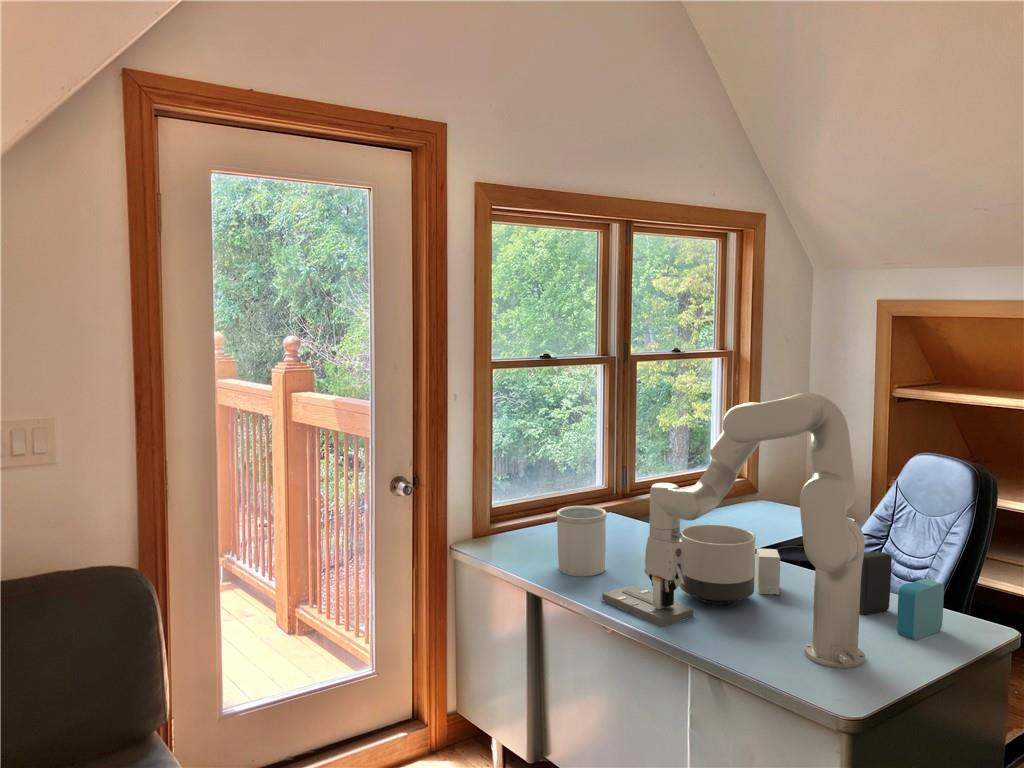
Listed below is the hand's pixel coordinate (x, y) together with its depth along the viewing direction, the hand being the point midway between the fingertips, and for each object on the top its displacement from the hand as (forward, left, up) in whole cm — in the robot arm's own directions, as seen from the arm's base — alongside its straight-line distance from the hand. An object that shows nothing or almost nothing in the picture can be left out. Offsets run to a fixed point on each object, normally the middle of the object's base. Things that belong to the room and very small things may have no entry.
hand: (663, 603), depth 211 cm
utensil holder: (+37, +16, -3) cm, 40 cm away
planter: (+11, -17, -3) cm, 20 cm away
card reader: (0, -54, -3) cm, 54 cm away
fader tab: (0, 0, -1) cm, 1 cm away
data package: (-14, -59, -3) cm, 61 cm away
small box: (+17, -33, -3) cm, 37 cm away
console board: (+5, +3, -3) cm, 7 cm away
